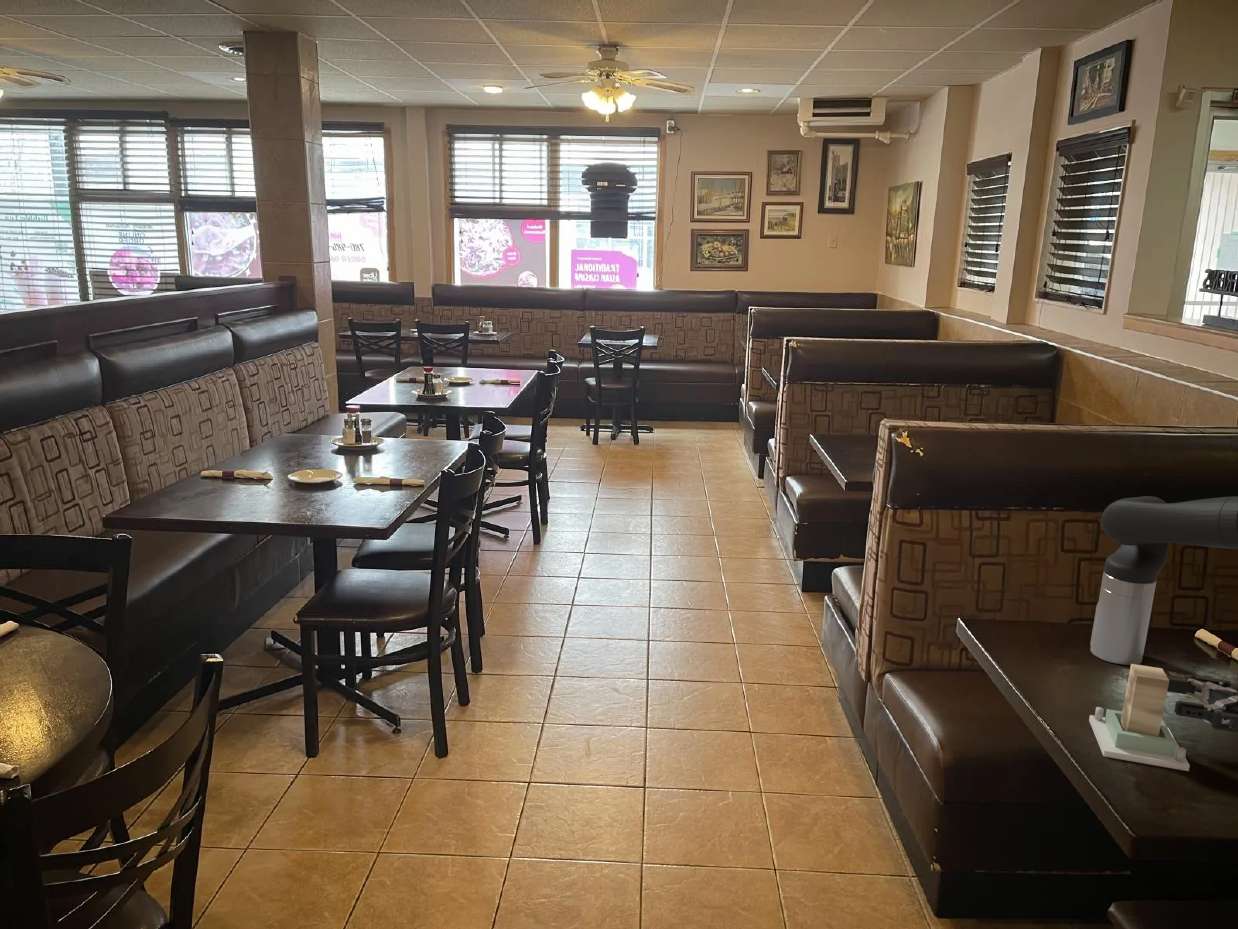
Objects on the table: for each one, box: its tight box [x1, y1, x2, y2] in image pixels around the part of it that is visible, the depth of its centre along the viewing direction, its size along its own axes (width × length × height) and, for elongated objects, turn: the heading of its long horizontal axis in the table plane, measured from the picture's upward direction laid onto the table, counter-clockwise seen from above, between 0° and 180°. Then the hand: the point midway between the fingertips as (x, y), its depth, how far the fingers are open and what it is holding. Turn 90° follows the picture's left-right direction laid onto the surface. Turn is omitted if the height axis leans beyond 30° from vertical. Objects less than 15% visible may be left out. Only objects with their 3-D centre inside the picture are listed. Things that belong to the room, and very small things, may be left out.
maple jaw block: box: [1120, 664, 1169, 737], centre depth 143 cm, size 4×4×12 cm
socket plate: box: [1088, 706, 1191, 772], centre depth 144 cm, size 12×12×4 cm
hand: (1168, 695), depth 142 cm, fingers open, 8 cm apart
